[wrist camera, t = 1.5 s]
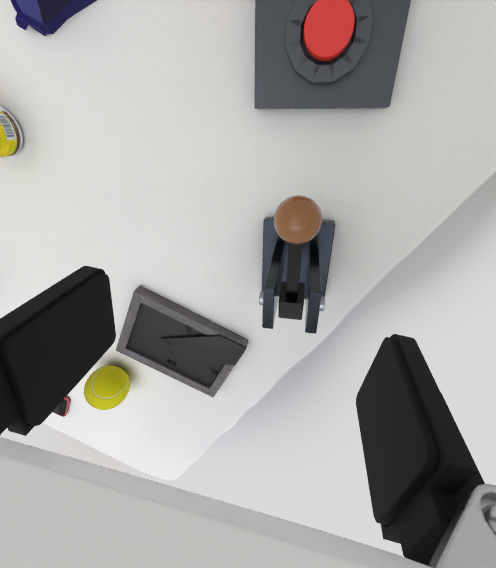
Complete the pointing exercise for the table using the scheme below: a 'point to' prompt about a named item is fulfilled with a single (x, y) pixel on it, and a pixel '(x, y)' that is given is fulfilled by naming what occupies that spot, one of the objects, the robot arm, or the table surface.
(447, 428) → the robot arm
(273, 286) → the switch bracket
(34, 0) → the computer mouse
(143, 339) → the picture frame
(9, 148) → the supplement bottle
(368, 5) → the grey base plate
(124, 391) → the tennis ball
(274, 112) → the table surface
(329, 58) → the button
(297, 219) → the switch lever
